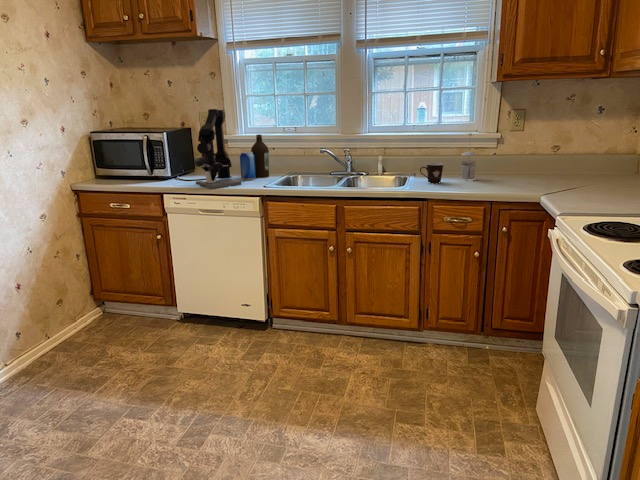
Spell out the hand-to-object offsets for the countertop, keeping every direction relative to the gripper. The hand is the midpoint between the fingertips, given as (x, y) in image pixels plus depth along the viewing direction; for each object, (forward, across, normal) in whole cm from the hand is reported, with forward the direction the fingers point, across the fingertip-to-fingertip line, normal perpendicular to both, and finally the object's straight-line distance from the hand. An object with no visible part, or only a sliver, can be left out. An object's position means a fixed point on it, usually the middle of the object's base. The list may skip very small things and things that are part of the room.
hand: (211, 180), depth 265 cm
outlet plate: (+3, +3, +4) cm, 6 cm away
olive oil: (+3, -5, +36) cm, 36 cm away
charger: (+1, 0, 0) cm, 1 cm away
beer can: (+3, -2, +25) cm, 25 cm away
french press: (+3, +91, +108) cm, 141 cm away
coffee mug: (+3, +82, +88) cm, 120 cm away
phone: (+3, -9, -2) cm, 10 cm away
